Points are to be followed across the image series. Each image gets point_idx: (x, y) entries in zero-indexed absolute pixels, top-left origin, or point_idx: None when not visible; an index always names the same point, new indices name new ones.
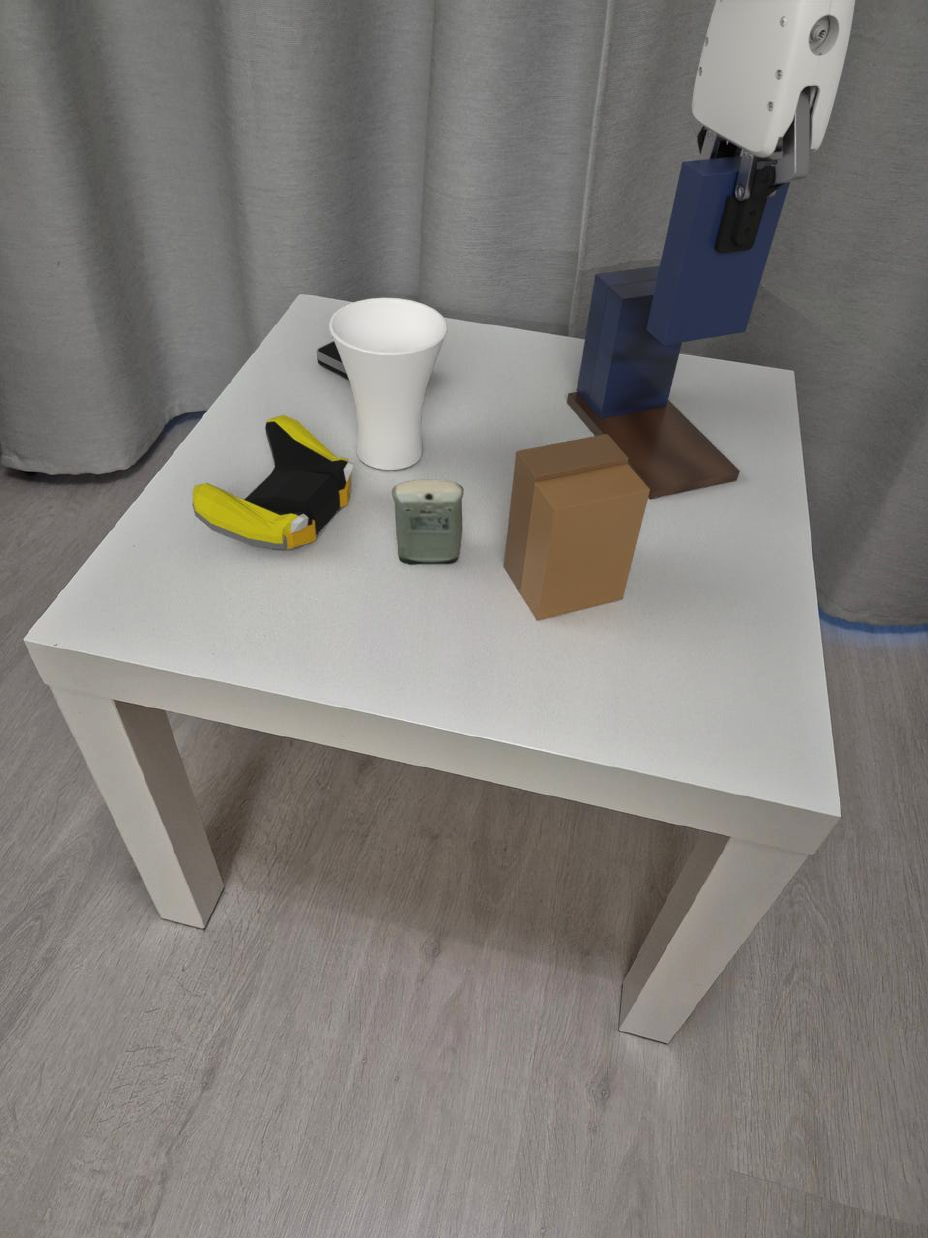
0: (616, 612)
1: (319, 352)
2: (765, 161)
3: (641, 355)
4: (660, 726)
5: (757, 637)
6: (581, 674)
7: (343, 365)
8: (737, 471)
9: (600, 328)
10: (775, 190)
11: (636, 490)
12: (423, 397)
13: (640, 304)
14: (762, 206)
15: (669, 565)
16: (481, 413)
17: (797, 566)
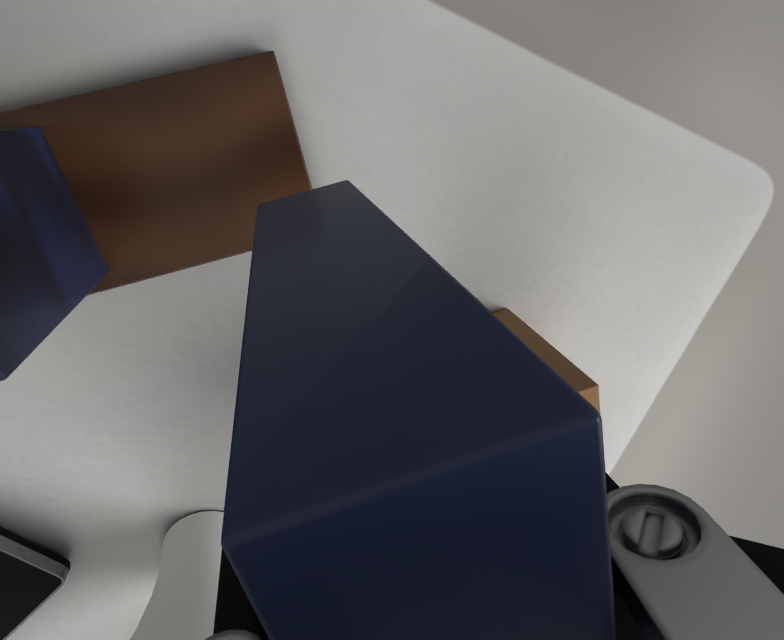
0: (524, 318)
1: None
2: (473, 629)
3: (32, 243)
4: (664, 306)
5: (595, 164)
6: (591, 365)
7: (8, 635)
8: (275, 57)
9: None
10: (763, 545)
11: (596, 402)
12: (217, 587)
13: None
14: (615, 485)
15: (461, 236)
16: (88, 440)
17: (492, 43)
